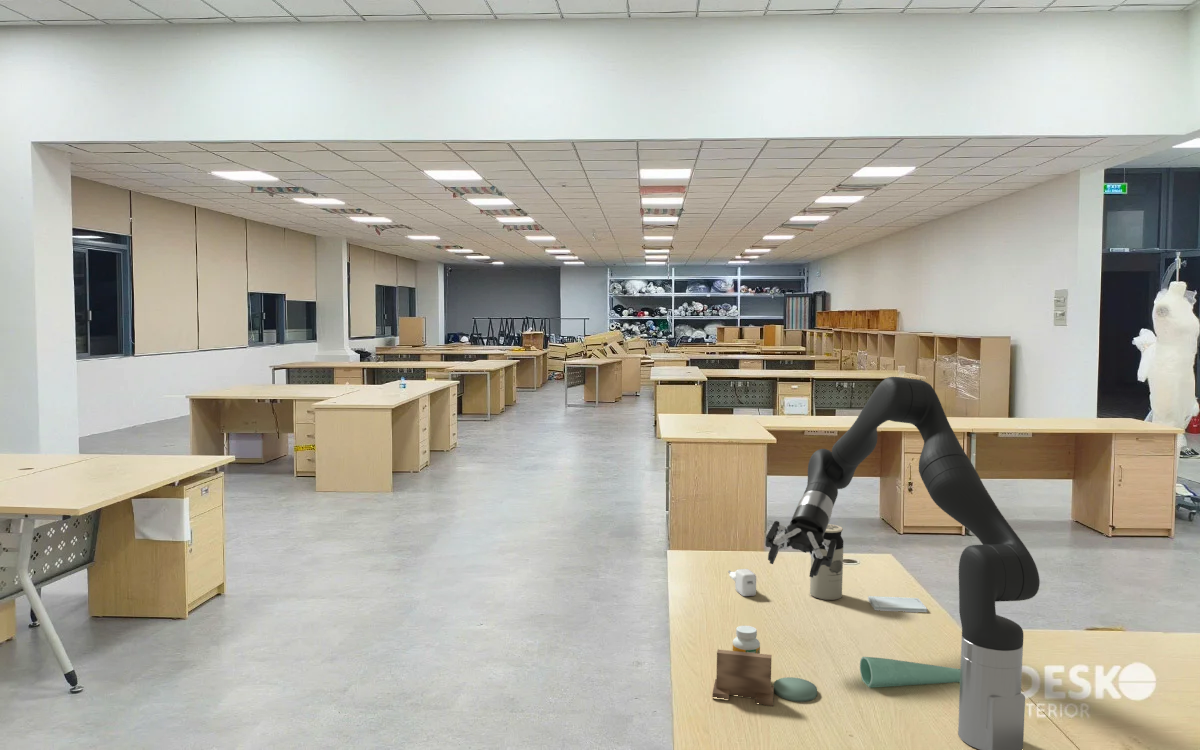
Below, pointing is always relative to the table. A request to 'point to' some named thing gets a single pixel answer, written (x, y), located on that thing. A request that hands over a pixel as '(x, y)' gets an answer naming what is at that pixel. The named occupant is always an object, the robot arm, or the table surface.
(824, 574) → the travel mug
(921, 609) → the hard drive
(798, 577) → the table surface
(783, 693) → the pad
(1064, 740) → the table surface
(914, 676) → the long green cone
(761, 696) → the divider
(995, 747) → the robot arm
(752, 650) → the supplement bottle
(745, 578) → the power adapter
